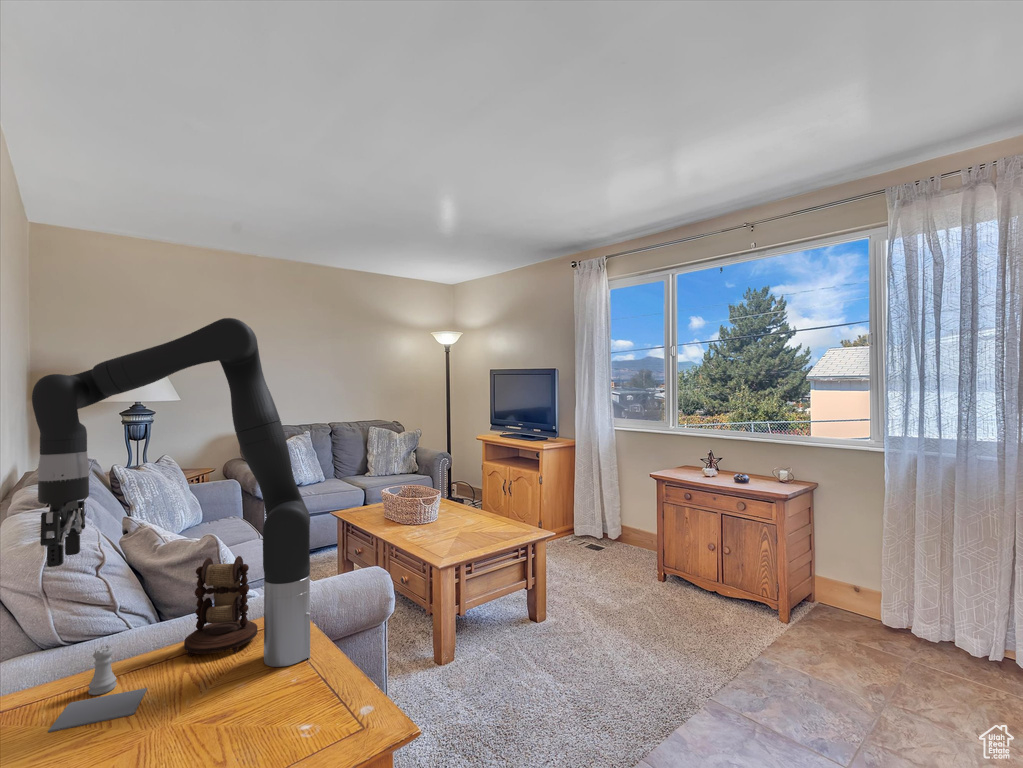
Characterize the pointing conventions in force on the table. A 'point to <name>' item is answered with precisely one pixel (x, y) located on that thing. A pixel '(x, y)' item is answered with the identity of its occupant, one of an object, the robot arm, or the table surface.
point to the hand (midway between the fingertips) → (64, 559)
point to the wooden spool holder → (221, 609)
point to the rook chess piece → (102, 672)
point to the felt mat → (99, 709)
